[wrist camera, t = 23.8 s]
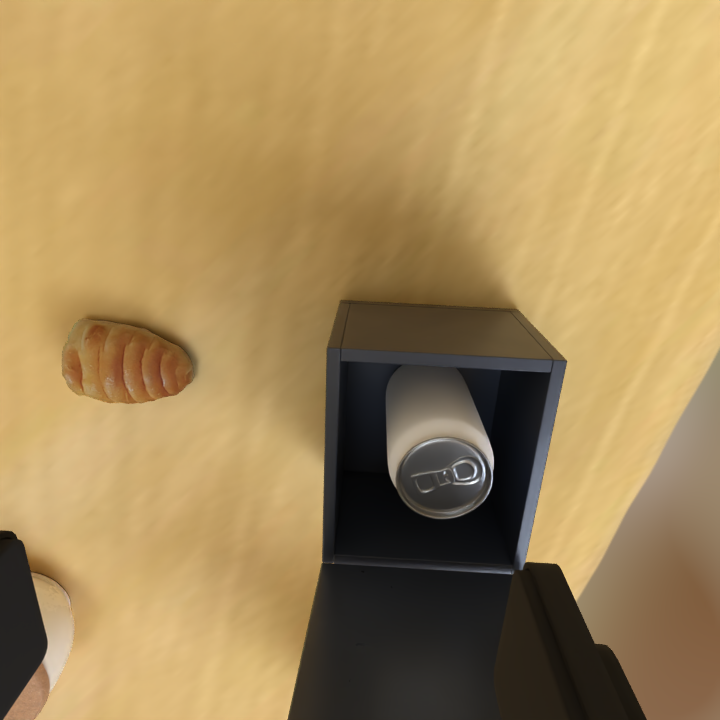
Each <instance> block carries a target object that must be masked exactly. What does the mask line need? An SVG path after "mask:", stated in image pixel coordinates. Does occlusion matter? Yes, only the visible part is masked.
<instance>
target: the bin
mask: <svg viewBox="0 0 720 720" xmlns="http://www.w3.org/2000/svg"><path fill="white" fill-rule="evenodd" d="M566 364H567V360H566V359H565V358H564V357H563V356H562V355H561V354H560V353H559V352H558V351H557V350H556V349H555V348H554V347H553V346H552V345H551V344H550V343H549V341H548V340H547V339H546V338H545V337H544V336H543V335H542V334H541V333H540V332H539V331H538V330H537V329H536V328H535V327H534V326H533V325H532V324H531V323H530V322H529V321H528V320H527V319H526V318H525V317H524V315H523V314H522V313H520V311H519V310H517V309H498V308H479V307H460V306H441V305H422V304H402V303H383V302H364V301H345V300H341V301H340V304H339V307H338V311H337V314H336V318H335V321H334V325H333V329H332V332H331V336H330V339H329V343H328V346H327V363H326V409H325V455H324V501H323V547H322V562H323V563H334V564H348V565H365V566H381V567H398V568H414V569H431V570H447V571H464V572H480V573H497V574H513V573H514V571H515V570H522V569H523V566H524V564H525V560H526V555H527V551H528V546H529V541H530V536H531V531H532V527H533V522H534V517H535V512H536V508H537V503H538V498H539V493H540V488H541V484H542V479H543V474H544V469H545V464H546V460H547V455H548V450H549V445H550V441H551V436H552V431H553V426H554V421H555V417H556V412H557V407H558V402H559V398H560V393H561V388H562V383H563V378H564V374H565V369H566ZM402 365H420V366H438V367H455V368H456V369H457V370H458V371H459V372H460V374H461V375H462V377H463V378H464V380H465V383H466V385H467V387H468V389H469V392H470V394H471V397H472V399H473V402H474V404H475V406H476V409H477V411H478V414H479V416H480V419H481V421H482V424H483V426H484V429H485V431H486V434H487V436H488V439H489V442H490V445H491V448H492V451H493V456H494V468H493V482H492V486H491V489H490V492H489V494H488V496H487V497H486V499H485V500H484V501H483V502H482V504H481V505H479V506H478V507H477V508H476V509H474V510H473V511H471V512H470V513H468V514H466V515H463V516H460V517H457V518H452V519H432V518H428V517H425V516H422V515H420V514H418V513H416V512H414V511H413V510H411V509H410V508H409V507H408V506H407V505H406V504H405V503H404V502H403V501H402V499H401V498H400V496H399V494H398V491H397V489H396V487H395V486H394V484H393V482H392V480H391V477H390V474H389V469H388V458H387V432H386V389H387V385H388V382H389V380H390V378H391V376H392V375H393V374H394V372H395V371H396V370H397V369H398V368H399V367H401V366H402Z"/></svg>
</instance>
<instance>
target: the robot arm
mask: <svg viewBox="0 0 720 720" xmlns="http://www.w3.org/2000/svg"><path fill="white" fill-rule="evenodd" d="M47 647H48V639H47V635H46V631H45V627H44V623H43V619H42V615H41V611H40V607H39V603H38V599H37V595H36V591H35V587H34V583H33V579H32V575H31V571H30V567H29V563H28V559H27V555H26V551H25V547H24V544H23V542H22V541H21V540H18V539H17V537H16V534H14V533H13V532H12V531H0V720H3V719H4V718H5V716H6V715H7V713H8V712H9V710H10V709H11V707H12V706H13V704H14V703H15V701H16V700H17V698H18V697H19V696H20V694H21V693H22V691H23V690H24V688H25V687H26V685H27V684H28V682H29V681H30V679H31V678H32V676H33V675H34V673H35V672H36V670H37V669H38V667H39V666H40V665H41V663H42V661H43V659H44V657H45V655H46V652H47ZM494 687H495V693H496V698H497V702H498V707H499V711H500V716H501V720H647V719H646V717H645V715H644V713H643V711H642V709H641V707H640V705H639V703H638V701H637V698H636V697H635V694H634V692H633V690H632V688H631V686H630V684H629V682H628V680H627V678H626V676H625V674H624V672H623V670H622V668H621V665H620V663H619V661H618V659H617V658H616V656H615V654H614V653H613V651H612V650H611V649H610V648H609V647H608V646H607V645H603V644H595V643H594V641H593V639H592V637H591V634H590V632H589V630H588V628H587V626H586V623H585V621H584V619H583V617H582V614H581V612H580V610H579V608H578V606H577V603H576V601H575V599H574V597H573V595H572V592H571V590H570V588H569V586H568V583H567V581H566V579H565V577H564V575H563V572H562V570H561V569H560V567H559V566H558V565H557V564H549V563H533V562H526V563H525V564H524V566H523V569H522V570H515V571H514V573H513V577H512V582H511V587H510V592H509V597H508V602H507V607H506V612H505V617H504V622H503V627H502V632H501V637H500V642H499V647H498V652H497V657H496V662H495V667H494Z"/></svg>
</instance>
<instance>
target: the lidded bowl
mask: <svg viewBox="0 0 720 720" xmlns="http://www.w3.org/2000/svg"><path fill="white" fill-rule="evenodd" d="M31 575H32V579H33V583H34V587H35V591H36V595H37V599H38V603H39V607H40V611H41V615H42V619H43V623H44V627H45V631H46V635H47V639H48V647H47V652H46V655H45V657H44V659H43V661H42V663H41V665H40V666H39V667H38V669H37V670H36V672H35V673H34V675H33V676H32V678H31V679H30V681H29V682H28V684H27V685H26V687H25V688H24V690H23V691H22V693H21V694H20V696H19V697H18V698H17V700H16V701H15V703H14V704H13V706H12V707H11V709H10V710H9V712H8V713H7V715H6V716H5V718H4V719H3V720H34V719H35V718H36V717H37V716H38V714H39V713H40V711H41V710H42V708H43V707H44V705H45V703H46V701H47V699H48V696H49V694H50V692H51V691H52V689H53V687H54V686H55V684H56V682H57V680H58V679H59V677H60V675H61V673H62V671H63V668H64V666H65V664H66V662H67V660H68V657H69V654H70V651H71V648H72V644H73V638H74V618H73V614H72V610H71V602H70V598H69V596H68V594H67V593H66V591H65V590H64V589H63V588H62V587H61V586H60V585H59V584H58V583H57V582H55V581H54V580H52V579H50V578H49V577H46V576H44V575H41V574H38V573H33V572H31Z"/></svg>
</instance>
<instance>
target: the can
mask: <svg viewBox="0 0 720 720" xmlns="http://www.w3.org/2000/svg"><path fill="white" fill-rule="evenodd" d="M386 432H387V458H388V469H389V474H390V477H391V480H392V482H393V484H394V486H395V487H396V489H397V491H398V494H399V496H400V498H401V499H402V501H403V502H404V503H405V504H406V505H407V506H408V507H409V508H410V509H411V510H413V511H414V512H416V513H418V514H420V515H422V516H425V517H428V518H432V519H452V518H457V517H460V516H463V515H466V514H468V513H470V512H471V511H473V510H474V509H476V508H477V507H478V506H479V505H481V504H482V502H483V501H484V500H485V499H486V497H487V496H488V494H489V492H490V489H491V486H492V482H493V468H494V456H493V451H492V448H491V445H490V442H489V439H488V436H487V434H486V431H485V429H484V426H483V424H482V421H481V419H480V416H479V414H478V411H477V409H476V406H475V404H474V402H473V399H472V397H471V394H470V392H469V389H468V387H467V385H466V383H465V380H464V378H463V377H462V375H461V374H460V372H459V371H458V370H457V369H456V368H455V367H438V366H420V365H402V366H401V367H399V368H398V369H397V370H396V371H395V372H394V374H393V375H392V376H391V378H390V380H389V382H388V385H387V389H386Z"/></svg>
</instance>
